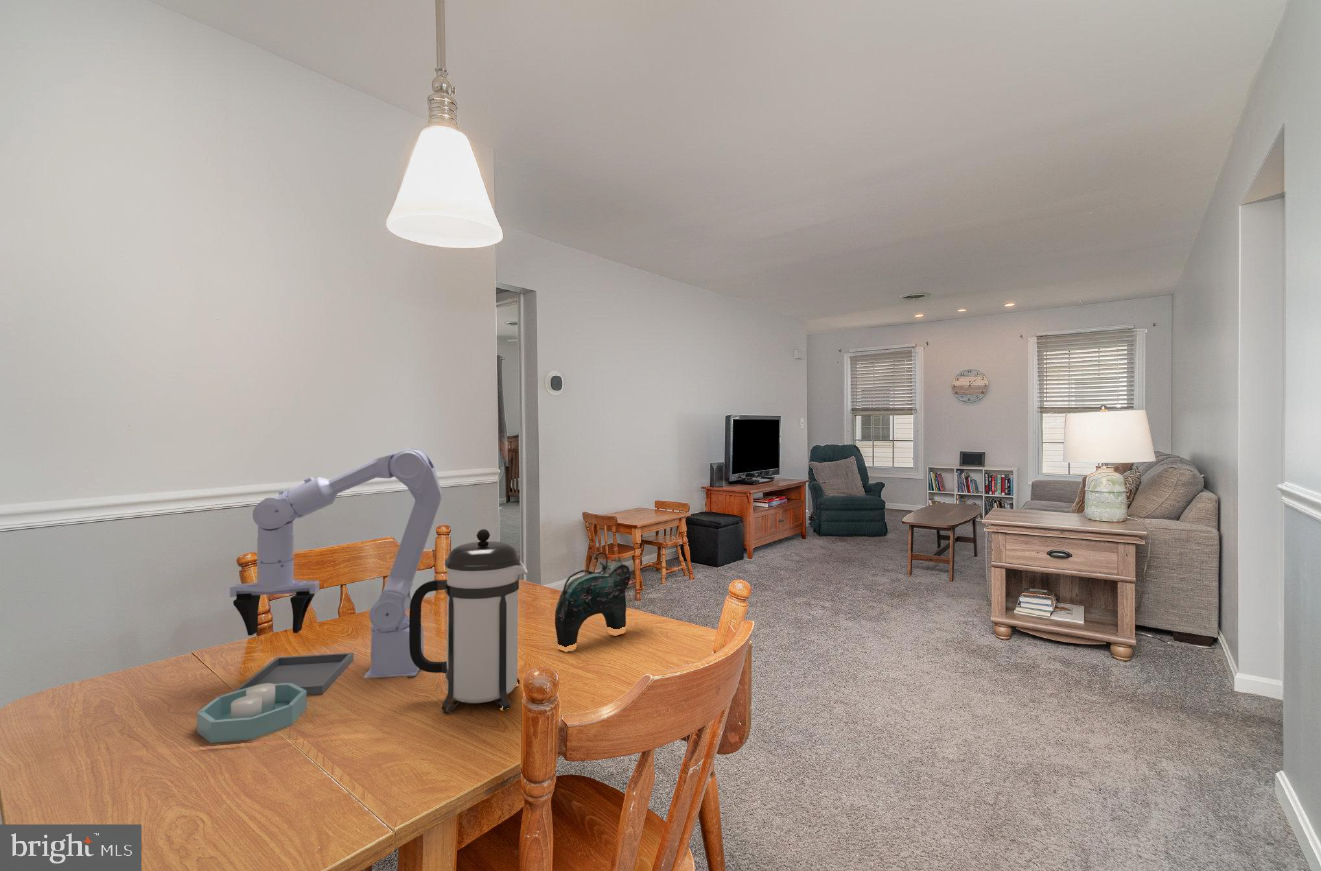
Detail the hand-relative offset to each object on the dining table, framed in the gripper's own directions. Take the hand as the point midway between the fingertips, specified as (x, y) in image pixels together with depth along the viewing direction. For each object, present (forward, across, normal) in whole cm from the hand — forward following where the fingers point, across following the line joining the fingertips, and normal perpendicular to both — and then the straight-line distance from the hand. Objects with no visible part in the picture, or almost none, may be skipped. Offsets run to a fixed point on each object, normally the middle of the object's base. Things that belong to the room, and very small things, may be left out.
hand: (275, 632), depth 110 cm
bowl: (+9, -4, +16) cm, 19 cm away
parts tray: (+9, -4, 0) cm, 10 cm away
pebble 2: (+9, -4, +14) cm, 17 cm away
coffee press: (+10, -38, +14) cm, 42 cm away
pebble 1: (+9, -4, +19) cm, 21 cm away
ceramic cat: (+10, -61, -12) cm, 63 cm away
